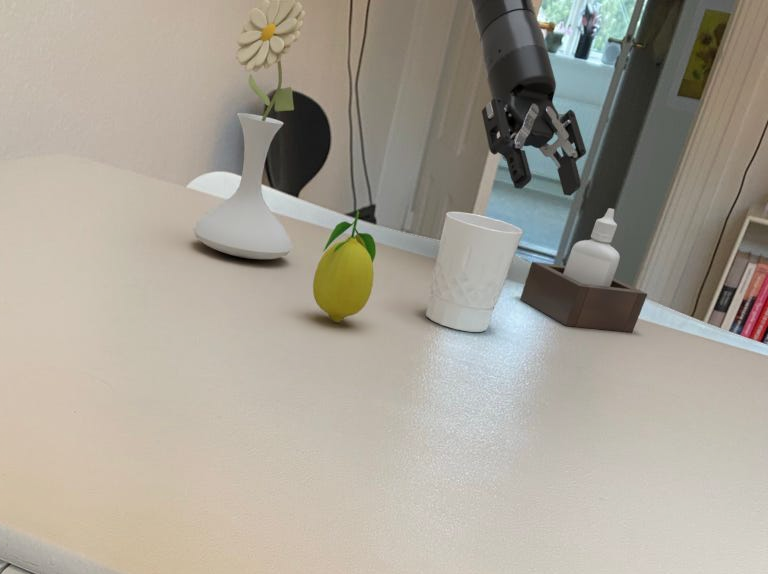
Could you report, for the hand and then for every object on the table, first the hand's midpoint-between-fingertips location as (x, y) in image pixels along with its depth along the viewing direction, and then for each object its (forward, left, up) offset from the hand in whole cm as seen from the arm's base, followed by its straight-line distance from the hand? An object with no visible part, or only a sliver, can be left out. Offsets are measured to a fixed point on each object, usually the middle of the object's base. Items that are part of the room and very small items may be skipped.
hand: (548, 188), depth 111 cm
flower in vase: (+38, -1, -12) cm, 40 cm away
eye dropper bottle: (-2, +11, -12) cm, 16 cm away
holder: (-2, +11, -12) cm, 16 cm away
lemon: (+36, +22, -12) cm, 44 cm away
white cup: (+20, +18, -12) cm, 30 cm away
